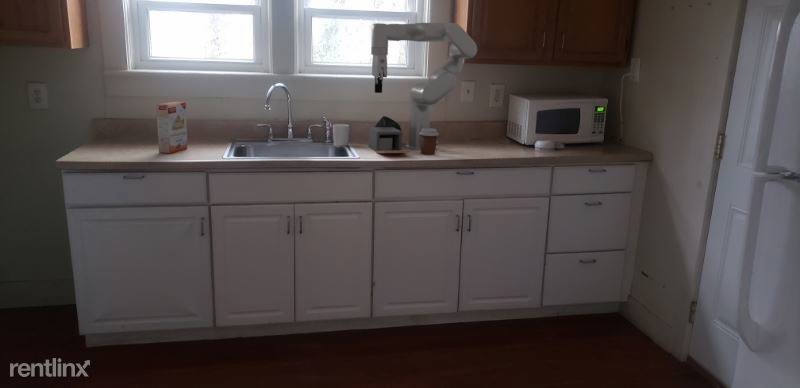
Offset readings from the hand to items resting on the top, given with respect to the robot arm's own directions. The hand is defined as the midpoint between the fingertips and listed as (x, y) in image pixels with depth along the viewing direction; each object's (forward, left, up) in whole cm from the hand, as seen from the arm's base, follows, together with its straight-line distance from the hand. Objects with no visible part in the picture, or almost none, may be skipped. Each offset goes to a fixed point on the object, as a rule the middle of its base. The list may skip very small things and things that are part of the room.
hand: (378, 92), depth 276 cm
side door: (-4, +8, -27) cm, 28 cm away
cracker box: (+90, -8, -27) cm, 94 cm away
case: (-4, 0, -27) cm, 27 cm away
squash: (-10, -16, -27) cm, 33 cm away
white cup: (+14, -15, -27) cm, 34 cm away
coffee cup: (-21, +13, -27) cm, 37 cm away
